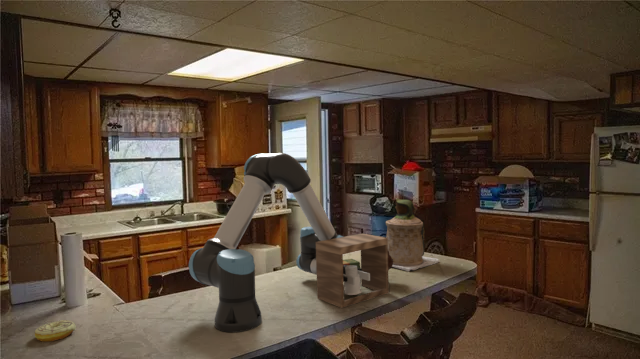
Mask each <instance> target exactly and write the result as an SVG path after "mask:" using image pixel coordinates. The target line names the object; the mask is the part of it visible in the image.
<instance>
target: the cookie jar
mask: <svg viewBox="0 0 640 359" xmlns="http://www.w3.org/2000/svg"><path fill="white" fill-rule="evenodd" d="M395 202H396V203H395V205H396V206H395V209H396V212H397V214H396V215H395V216H394V217H393V218H391V219H388V220H386V221H385V226H386V227H387V228H386V229H387V231H386V234H385V235H386V237H385V238H388V251H389V255H390V256H391V258H392V259H393V265H392V267H391V268H395V269H399V270H402V271H406V272H410V271H416V270H418V269H422V268H425V267H429V266H431V265H435V264H438V263H439V262H440V259H439V258H435V257H429V256H426V255H425V240H424V239H425V232H426V231H425V228H424V222H423V221H422V220H421V219H420V218H418V217H417V216H416V213H415V212H417V211H418V205H417V204H416V203H413V202H412V200H409V199H400V198H396V197H395Z"/></svg>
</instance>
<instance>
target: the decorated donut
mask: <svg viewBox="0 0 640 359" xmlns="http://www.w3.org/2000/svg"><path fill="white" fill-rule="evenodd" d="M76 328H77V327H76V324H75V322H73V321H71V320H67V319H66V320H65V319H61V320H57V321H51V322H49V323H46V324H42V325H40V326H38V327H37V328H36V329H35V330H34V337H35V339H37V341H40V342H43V343H44V342H54V341H58V340H63V339H65V338H67V337H68V336H70V335H71V334H72V333H74V331H75V330H76Z"/></svg>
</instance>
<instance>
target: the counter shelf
mask: <svg viewBox="0 0 640 359" xmlns="http://www.w3.org/2000/svg"><path fill="white" fill-rule="evenodd" d="M353 252H354V253H355V252H360V268H361V269H362V271H363V272H366V273H370V281H367V280H364V279H361V286H362V287H365V288H368V289H371V290H373V291H370V292H367V293H364V294H359V295H357V296H354V297H349V298H347V299H345V293H344V282H343V260H344V255H345V254H350V253H353ZM316 268H317V275H316V296H317V299H318V300H320V301H323V302H326V303H328V304H331V305H333V306H336V307H338V308H341V309H342V308H345V307H349V306H352V305H355V304H358V303H362V302H364V301H368V300H371V299H375V298H378V297H381V296H383V295H386V294H390V292H389V291H390V287H389V285H390V284H389V270H388V238H386V237H385V236H379V235H372V234H366V233H358V234H352V235H351V234H350V235H347V236H343V237H340V238H335V239H329V240H324V241H318V242H316Z"/></svg>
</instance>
